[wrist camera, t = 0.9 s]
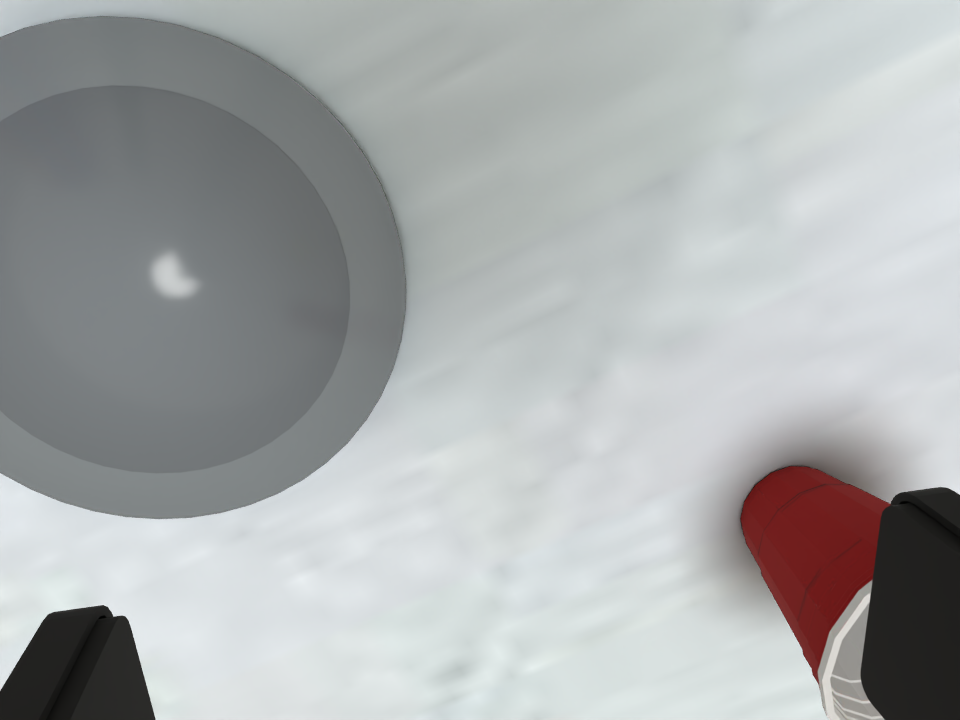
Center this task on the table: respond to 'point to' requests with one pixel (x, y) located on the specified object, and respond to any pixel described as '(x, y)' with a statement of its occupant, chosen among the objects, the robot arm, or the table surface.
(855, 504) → the plastic cup
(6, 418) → the dish
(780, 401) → the table surface
